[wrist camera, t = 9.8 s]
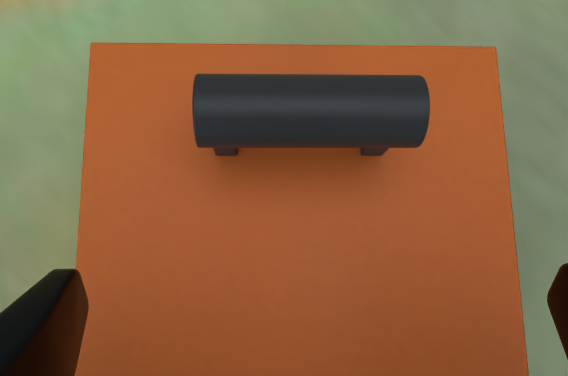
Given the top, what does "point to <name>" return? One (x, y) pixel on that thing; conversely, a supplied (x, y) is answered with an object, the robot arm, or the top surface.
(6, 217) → the top surface
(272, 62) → the lid
